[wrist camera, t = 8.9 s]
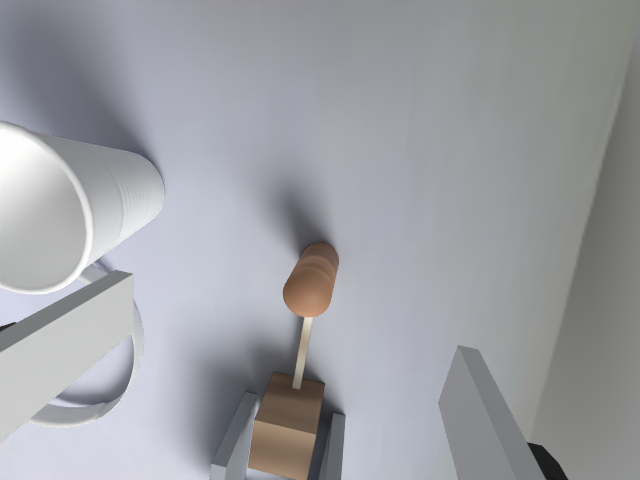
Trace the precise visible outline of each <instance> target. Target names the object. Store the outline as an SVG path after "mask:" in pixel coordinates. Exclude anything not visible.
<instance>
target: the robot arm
mask: <svg viewBox="0 0 640 480" xmlns="http://www.w3.org/2000/svg"><path fill="white" fill-rule="evenodd" d="M133 277H134V274H132V273H127V272H123V271H118V270H115V271H113V272H111V273H109V274H108V275H106V276H104V277H102V278H100V279H98V280H96V281H94V282H93V283H91V284H89V285H87V286H85V287H83V288H81V289H79V290H78V291H76V292H74V293H72V294H70V295H68V296H66V297H65V298H63V299H61V300H59V301H57V302H55V303H53V304H51V305H50V306H48V307H46V308H44V309H42V310H40V311H38V312H36V313H35V314H33V315H31V316H29V317H27V318H25V319H23V320H21V321H20V322H18V323H16V322H14V323H11V324H7V325H4V326H1V327H0V443H1V442H2V441H4V440H5V439H6V438H7V437H8V436H10V435H11V434H12V433H13V432H14V431H16V430H17V429H18V428H19V427H20V426H22V425H23V424H24V423H25V422H26V421H28V420H29V419H30V418H31V417H32V416H33V415H35V414H36V413H37V412H38V411H39V410H41V409H42V408H43V407H44V406H45V405H47V404H48V403H49V402H50V401H51V400H53V399H54V398H55V397H56V396H57V395H59V394H60V393H61V392H62V391H63V390H65V389H66V388H67V387H68V386H69V385H70V384H72V383H73V382H74V381H75V380H76V379H78V378H79V377H80V376H81V375H82V374H84V373H85V372H86V371H87V370H88V369H90V368H91V367H92V366H93V365H94V364H96V363H97V362H98V361H99V360H100V359H102V358H103V357H104V356H105V355H106V354H107V353H109V352H110V351H111V350H112V349H113V348H115V347H116V346H117V345H118V344H119V343H121V342H122V341H123V340H124V339H125V338H127V337H128V336H129V335H130V334H131V333H133ZM438 404H439V408H440V411H441V415H442V419H443V423H444V426H445V430H446V434H447V438H448V442H449V445H450V449H451V453H452V457H453V460H454V464H455V468H456V472H457V475H458V479H459V480H568V479H567V477H566V475H565V473H564V472H563V470H562V468H561V467H560V465H559V464H558V462H557V461H556V460H555V459H554V458H553V457H552V456H551V455H550V454H549V453H548V452H547V451H546V449H545V448H544V447H543V446H541V445H537V444H533V443H528V442H526V440H525V438H524V436H523V435H522V433H521V431H520V429H519V427H518V425H517V423H516V421H515V419H514V417H513V415H512V413H511V411H510V410H509V408H508V406H507V404H506V402H505V400H504V398H503V396H502V394H501V392H500V390H499V388H498V386H497V385H496V383H495V381H494V379H493V377H492V375H491V373H490V371H489V369H488V367H487V365H486V363H485V362H484V360H483V358H482V356H481V354H480V352H479V350H478V349H473V348H469V347H464V346H460V345H458V346H457V349H456V352H455V355H454V358H453V361H452V364H451V367H450V370H449V373H448V376H447V379H446V382H445V385H444V388H443V390H442V393H441V396H440V399H439V402H438Z"/></svg>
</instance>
